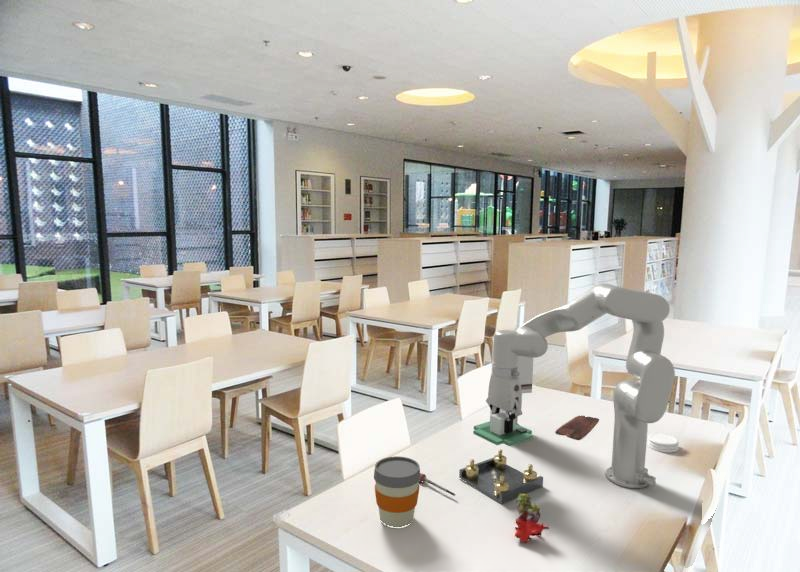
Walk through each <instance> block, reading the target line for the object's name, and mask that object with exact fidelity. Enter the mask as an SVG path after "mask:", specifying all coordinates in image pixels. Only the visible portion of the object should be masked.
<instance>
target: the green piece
mask: <svg viewBox="0 0 800 572" xmlns="http://www.w3.org/2000/svg"><path fill="white" fill-rule="evenodd" d="M510 415H511V412H510ZM505 420H506V413H505V411H503V412H500V413H497V414H493V415H490V414H489V421H487V422H484V423H480V424H476V425H474V426H473V435H475V436H477V437H478V438H481V439H483V440H485V441H488V442H489V443H491V444H493V445H495V446H500V445H502V444H504V445H506V446H508V447H512V446H516V445H518V444H521V443H524V442H526V441H529V440H532V439H533V437H534V435H533V434H532V433H533V431H532V429H529V428H527V427H524V426H522V425H520V424H519V423H517V424H516V418H515V419H514V420H513V431H512V432H509V433H504V423H505ZM518 424H519V425H518Z"/></svg>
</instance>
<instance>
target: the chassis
mask: <svg viewBox="0 0 800 572" xmlns="http://www.w3.org/2000/svg"><path fill="white" fill-rule="evenodd" d="M469 460H470V461H469V462H470V464H468V465H467V464H466V466H465V467H464V468H460V469H459V470H458V471H459V475H458V476H459V477H458V478H461V479H462V480H464V481H466V482H467V483H468V484H467V483H466V484H467V485H469V484H470V485H471V487H472V486H473V487H472V488H474V487H475V488H476V490H477V489H478V490H477V491H479V492H480V491H481V492H480V493H482V494H483V495H485V494H486V495H485V496H487V497H489V498H491V500H494V501H495V502H497V503H498V504H501V505H503V504H506V503H508V502H510V501H513V500H515V499H518V495H519V494H529V493H530V492H534V491H535V490H536V491H537V489H540V488H543V486H544V477H543V476H542V475H539V476H538V473H537V471H535V470H533V469H534V468H533V464H530V463H529V464H528V468H527V469H526V470H524V471H522V472H521V471H520V470H518V469H516V468H514V467H513V466H510V465H508V464H507V456H505V455H503V449H498V454H496V455H494V456H493V457H491V458H489V459H486V460H483V461H480V462H477V463H475V459H473V458H471V459H469ZM461 479H460V480H461ZM462 480H461V481H462ZM464 481H463V482H464ZM470 485H469V486H470ZM475 488H474V489H475Z"/></svg>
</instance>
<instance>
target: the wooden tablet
mask: <svg viewBox="0 0 800 572" xmlns="http://www.w3.org/2000/svg"><path fill="white" fill-rule="evenodd" d="M585 416H586V415H581V416H580V415H577V416H574V417H573V418H572V419H569V420H568V421H567V422H565V423H563V424H562V425H561V426H560V427H558V428H557V429H556V430H555V432H554V433H555V434H556V435H559V436H566V437H567V438H570V439H573V440H580V439H581V438H583V437H585V436H586V434H588V433H589V432H590V431H591V430H592V428H593V427H594V426H595V425H596V424H597V423H598V422H599V418H597V417H594V418H593V417H592V416H587V417H585Z"/></svg>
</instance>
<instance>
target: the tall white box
mask: <svg viewBox="0 0 800 572" xmlns="http://www.w3.org/2000/svg"><path fill="white" fill-rule="evenodd" d="M493 344H494V341H492V348H491V351H492V352H491V370H492V369H493ZM533 368H534V358H531V357H525V356H518V372H519V373H520V375H519V376H518V378H520V383H521V393H522V394H530V393H531V394H532V393H533V376H534V375H533V373H534V369H533ZM521 408H522V406H521ZM514 410H515V409H514ZM503 411H505V410H503V409H501V412H503ZM491 412H492V411H491V409H490V408H489V416H490V415H492V413H491ZM518 419H519V416H517V417H516V424H518V425H520V424H519V423H518Z"/></svg>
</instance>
